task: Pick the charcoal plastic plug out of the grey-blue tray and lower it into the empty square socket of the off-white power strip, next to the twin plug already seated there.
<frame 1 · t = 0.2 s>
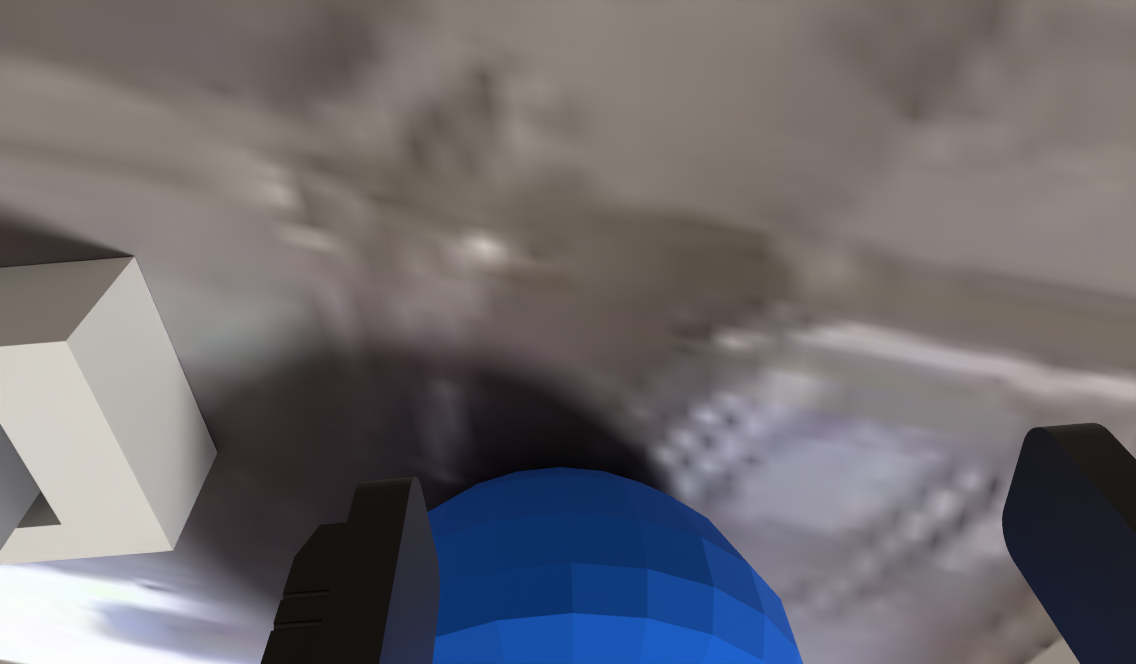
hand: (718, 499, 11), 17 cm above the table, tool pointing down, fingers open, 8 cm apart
blue rounded piece: (554, 547, 37), on the table
twin plug: (2, 394, 29), point 1 cm above the table, touching pdu strip
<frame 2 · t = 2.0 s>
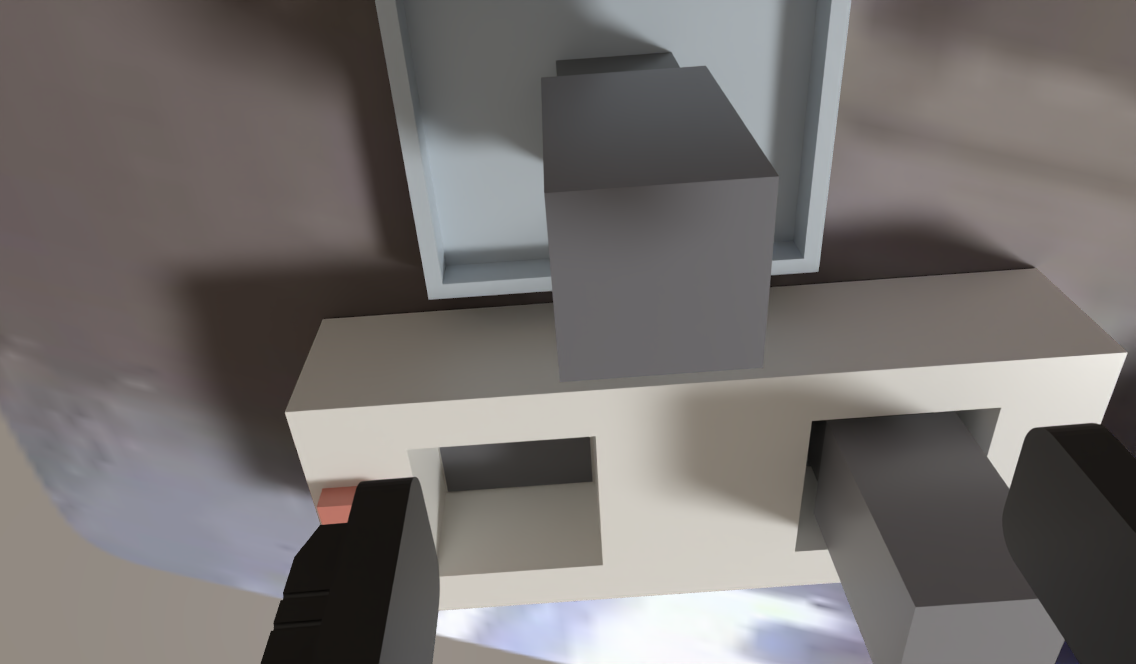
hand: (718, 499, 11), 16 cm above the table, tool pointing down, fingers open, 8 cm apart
plug: (615, 113, 23), point 1 cm above the table, touching tray
pdu strip: (677, 399, 30), on the table
twin plug: (851, 406, 29), point 1 cm above the table, touching pdu strip
tray: (613, 106, 24), on the table
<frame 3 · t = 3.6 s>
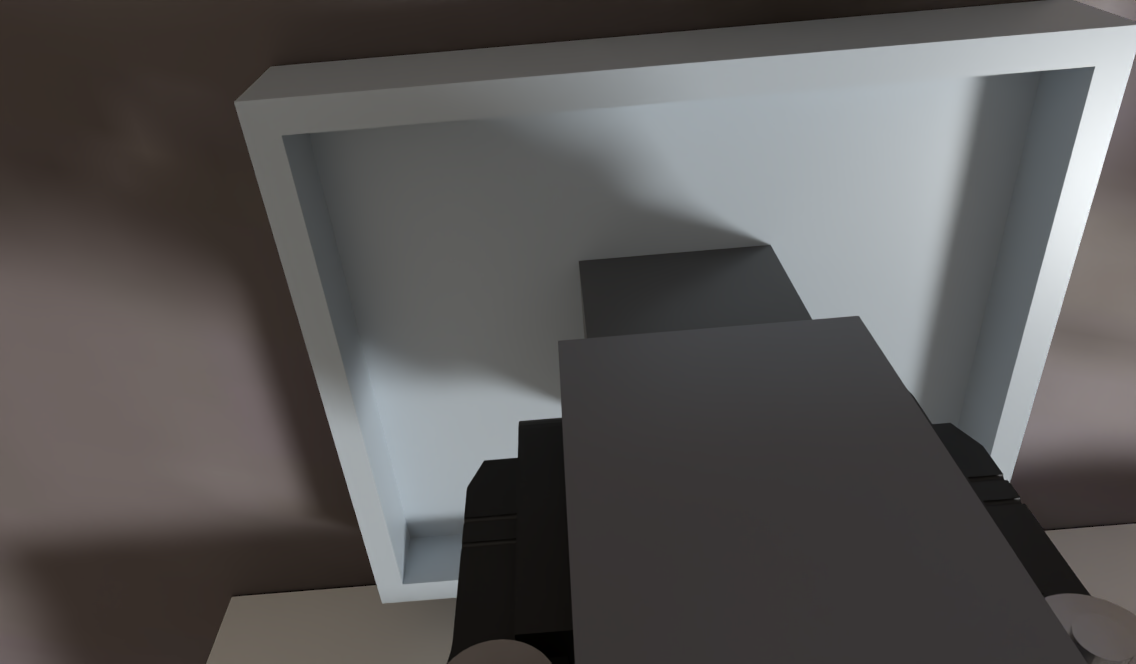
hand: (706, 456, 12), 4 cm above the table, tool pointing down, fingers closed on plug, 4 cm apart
plug: (674, 333, 14), point 1 cm above the table, touching gripper, tray
tray: (669, 316, 15), on the table
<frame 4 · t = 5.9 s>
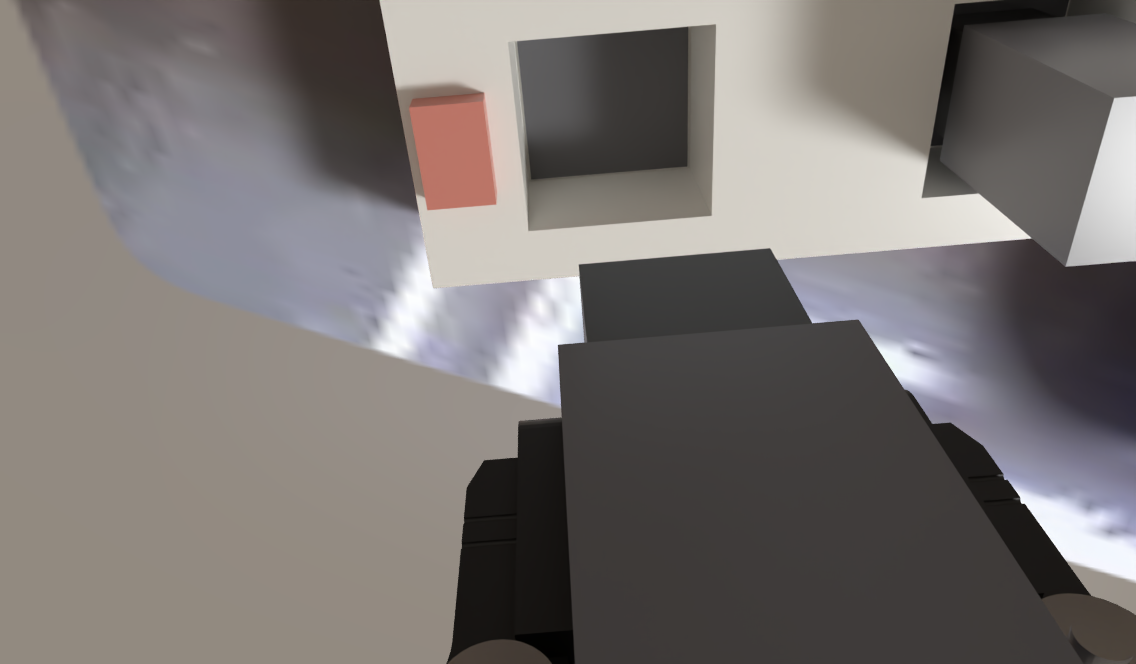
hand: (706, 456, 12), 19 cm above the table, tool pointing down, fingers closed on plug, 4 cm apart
plug: (674, 336, 14), point 16 cm above the table, touching gripper
pdu strip: (780, 70, 28), on the table
twin plug: (972, 63, 27), point 1 cm above the table, touching pdu strip
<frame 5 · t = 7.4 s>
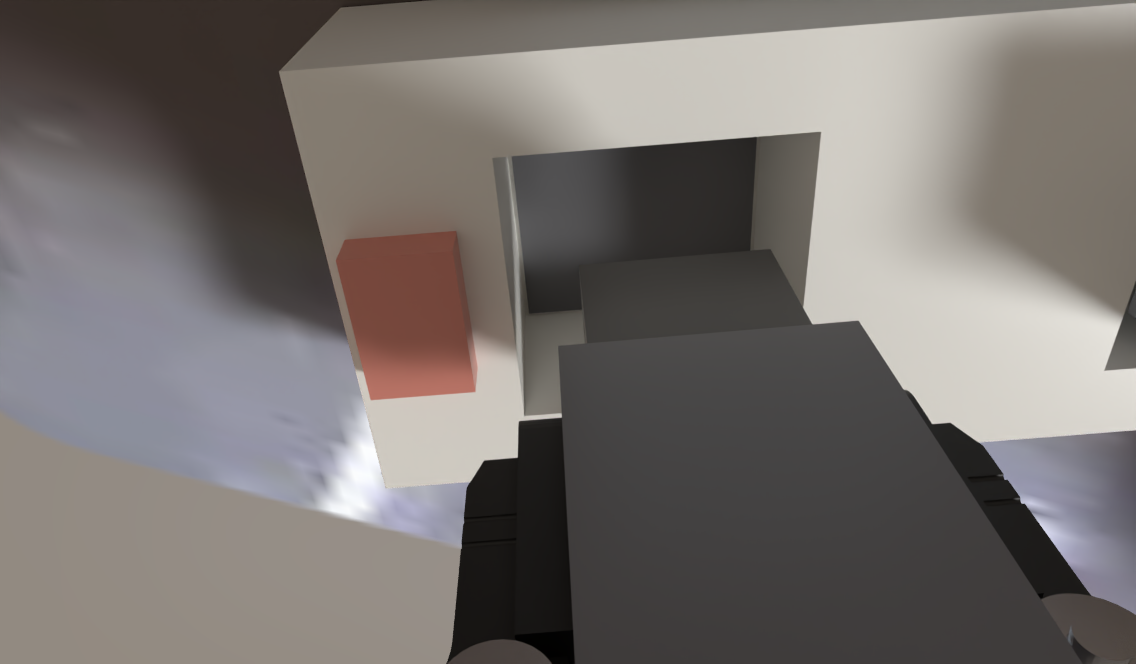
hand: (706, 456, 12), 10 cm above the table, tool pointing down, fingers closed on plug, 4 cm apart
plug: (674, 337, 14), point 6 cm above the table, touching gripper
pdu strip: (880, 165, 20), on the table
when the fingers open (7 cm above the table, at t = 8.4 s): plug drops 2 cm, resting on pdu strip.
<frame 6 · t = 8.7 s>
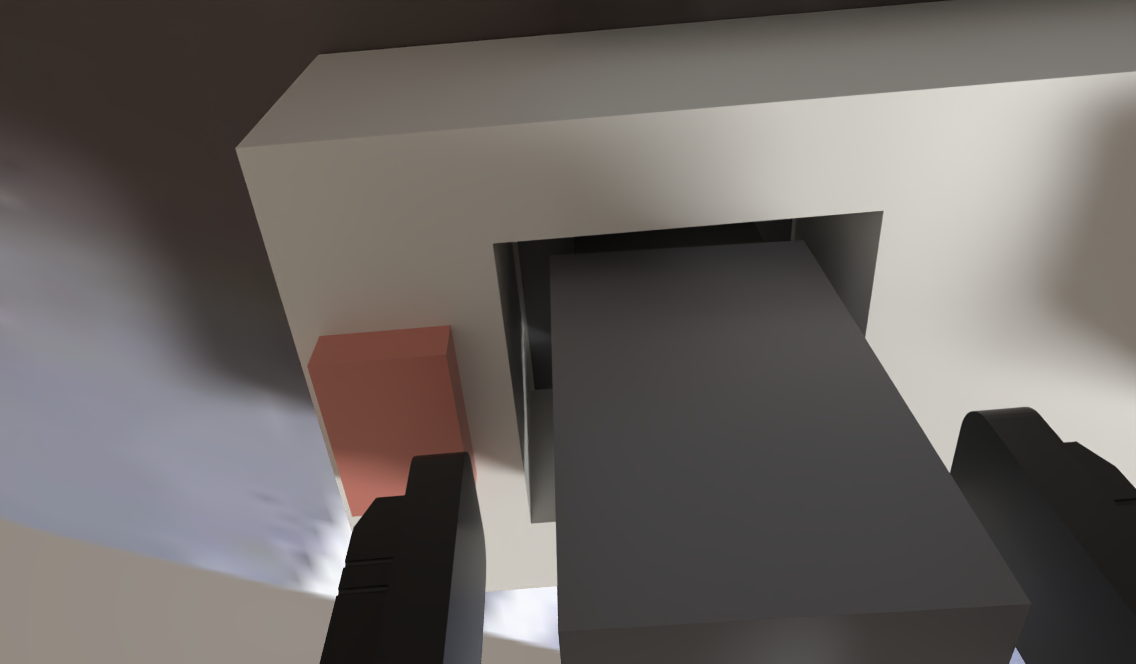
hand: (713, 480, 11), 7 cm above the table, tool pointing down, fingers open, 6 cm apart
plug: (653, 270, 16), point 1 cm above the table, touching pdu strip
pdu strip: (930, 223, 17), on the table
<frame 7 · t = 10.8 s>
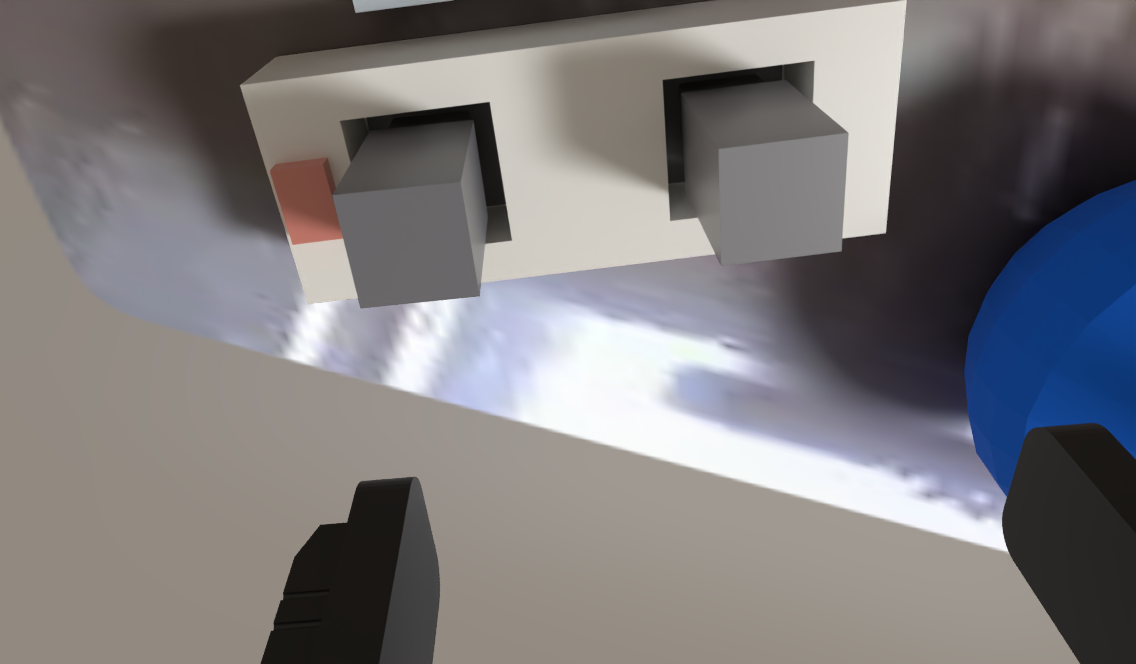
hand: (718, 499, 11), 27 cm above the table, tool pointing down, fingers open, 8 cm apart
plug: (437, 151, 35), point 1 cm above the table, touching pdu strip
pdu strip: (576, 127, 36), on the table
blue rounded piece: (1089, 296, 41), on the table
twin plug: (718, 116, 35), point 1 cm above the table, touching pdu strip
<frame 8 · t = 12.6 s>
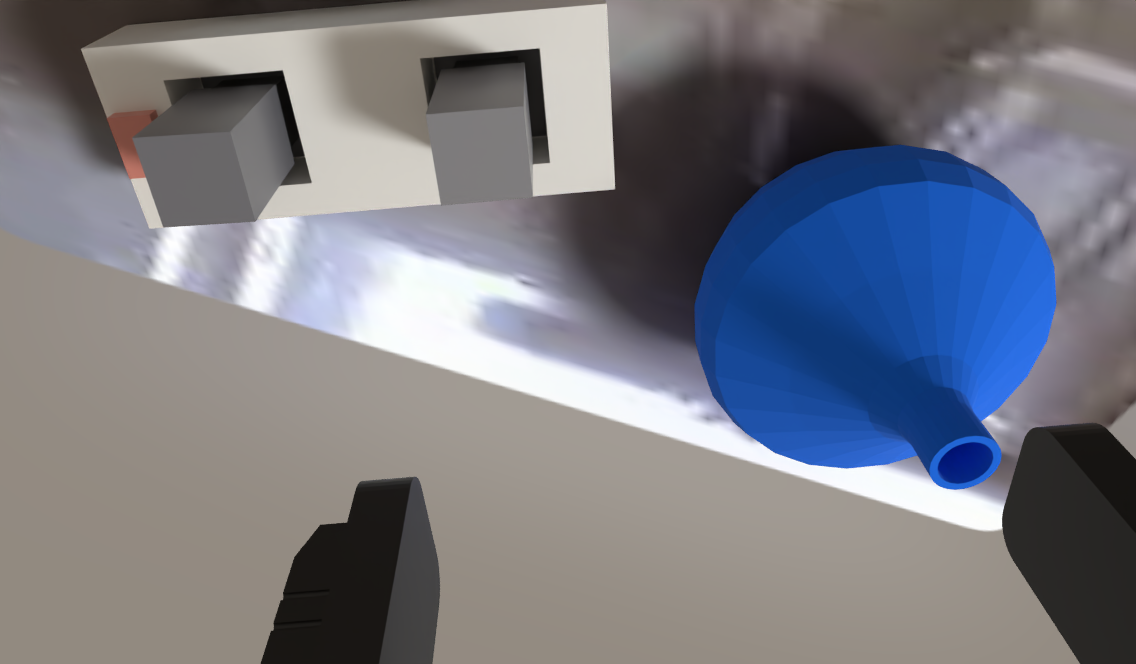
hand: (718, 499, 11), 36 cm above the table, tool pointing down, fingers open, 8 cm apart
plug: (261, 108, 43), point 1 cm above the table, touching pdu strip
pdu strip: (379, 93, 44), on the table
blue rounded piece: (823, 252, 50), on the table
twin plug: (490, 89, 43), point 1 cm above the table, touching pdu strip
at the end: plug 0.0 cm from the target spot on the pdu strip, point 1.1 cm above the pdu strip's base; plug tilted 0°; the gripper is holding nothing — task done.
